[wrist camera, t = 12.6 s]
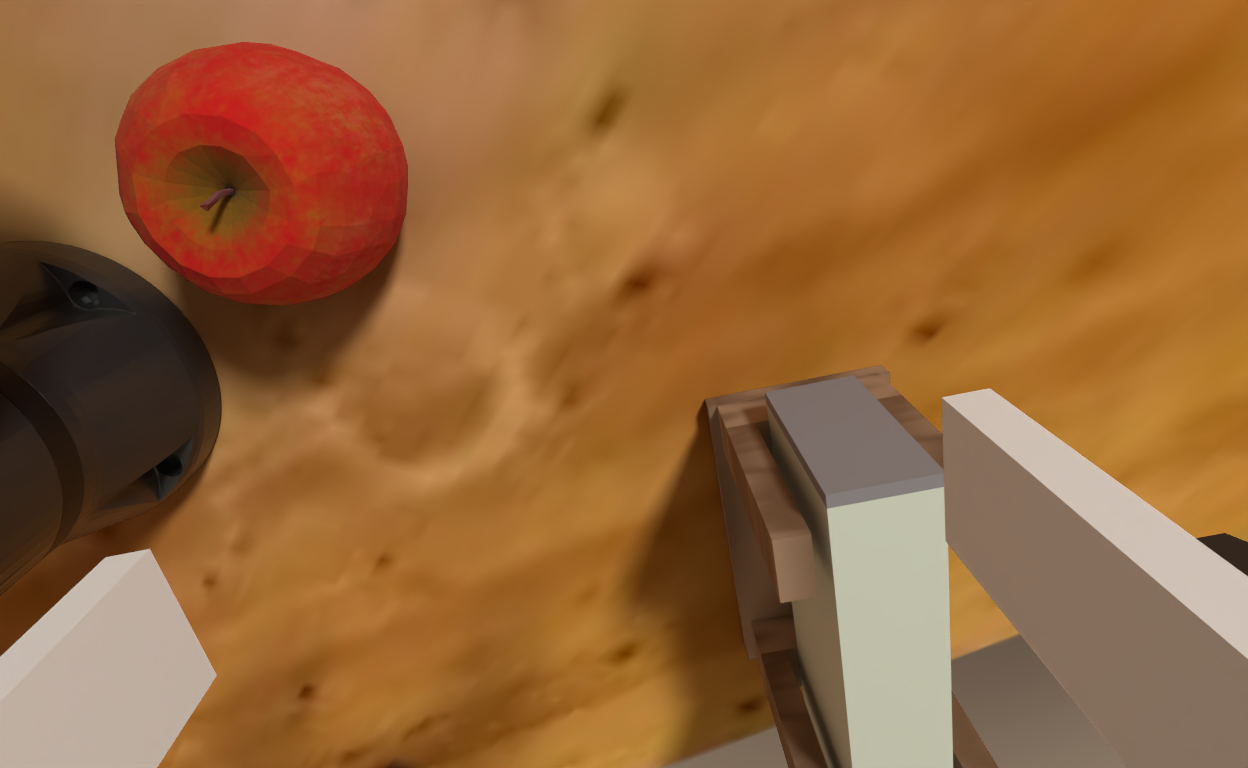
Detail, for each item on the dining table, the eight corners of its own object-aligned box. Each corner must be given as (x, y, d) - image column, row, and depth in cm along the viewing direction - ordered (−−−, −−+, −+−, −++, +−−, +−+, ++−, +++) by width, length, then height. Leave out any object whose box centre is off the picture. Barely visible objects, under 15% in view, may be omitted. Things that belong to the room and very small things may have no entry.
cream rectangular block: (804, 705, 44) (862, 869, 34) (764, 392, 36) (825, 495, 27) (877, 692, 44) (955, 853, 34) (853, 375, 36) (946, 472, 26)
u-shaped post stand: (744, 646, 47) (803, 856, 34) (704, 399, 40) (759, 543, 27) (896, 618, 47) (1013, 820, 34) (881, 365, 40) (1020, 494, 27)
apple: (148, 113, 34) (-36, 121, 24) (345, 3, 32) (236, -39, 22) (285, 312, 37) (176, 389, 28) (466, 220, 36) (419, 267, 26)
